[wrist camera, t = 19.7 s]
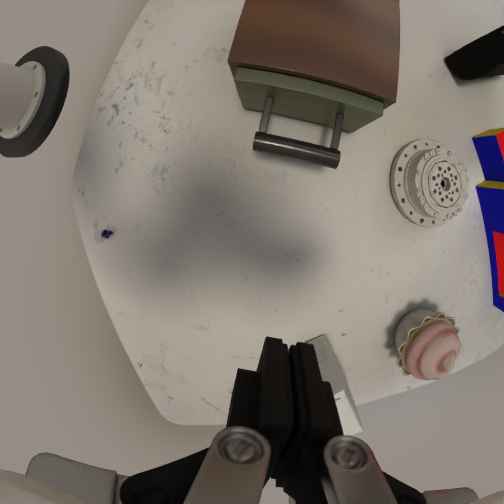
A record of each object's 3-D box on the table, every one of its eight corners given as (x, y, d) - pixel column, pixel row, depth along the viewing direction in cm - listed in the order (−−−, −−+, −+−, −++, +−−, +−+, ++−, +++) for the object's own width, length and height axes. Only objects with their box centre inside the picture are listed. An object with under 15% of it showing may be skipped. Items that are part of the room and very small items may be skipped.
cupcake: (417, 282, 30) (461, 318, 20) (451, 318, 31) (490, 354, 21) (369, 339, 32) (396, 388, 22) (407, 367, 33) (435, 412, 23)
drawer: (344, 176, 27) (373, 175, 19) (233, 152, 27) (219, 140, 19) (365, 32, 22) (389, -3, 14) (267, 9, 22) (266, -34, 14)
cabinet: (356, 125, 26) (396, 102, 16) (240, 98, 26) (227, 61, 16) (368, 24, 22) (398, -19, 13) (266, 0, 22) (264, -52, 13)
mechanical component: (374, 161, 27) (409, 240, 29) (390, 158, 23) (428, 249, 24) (435, 128, 25) (464, 202, 27) (455, 123, 21) (486, 206, 23)
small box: (283, 350, 33) (287, 411, 23) (325, 332, 32) (344, 389, 22) (307, 391, 34) (316, 449, 24) (345, 375, 33) (364, 431, 23)
